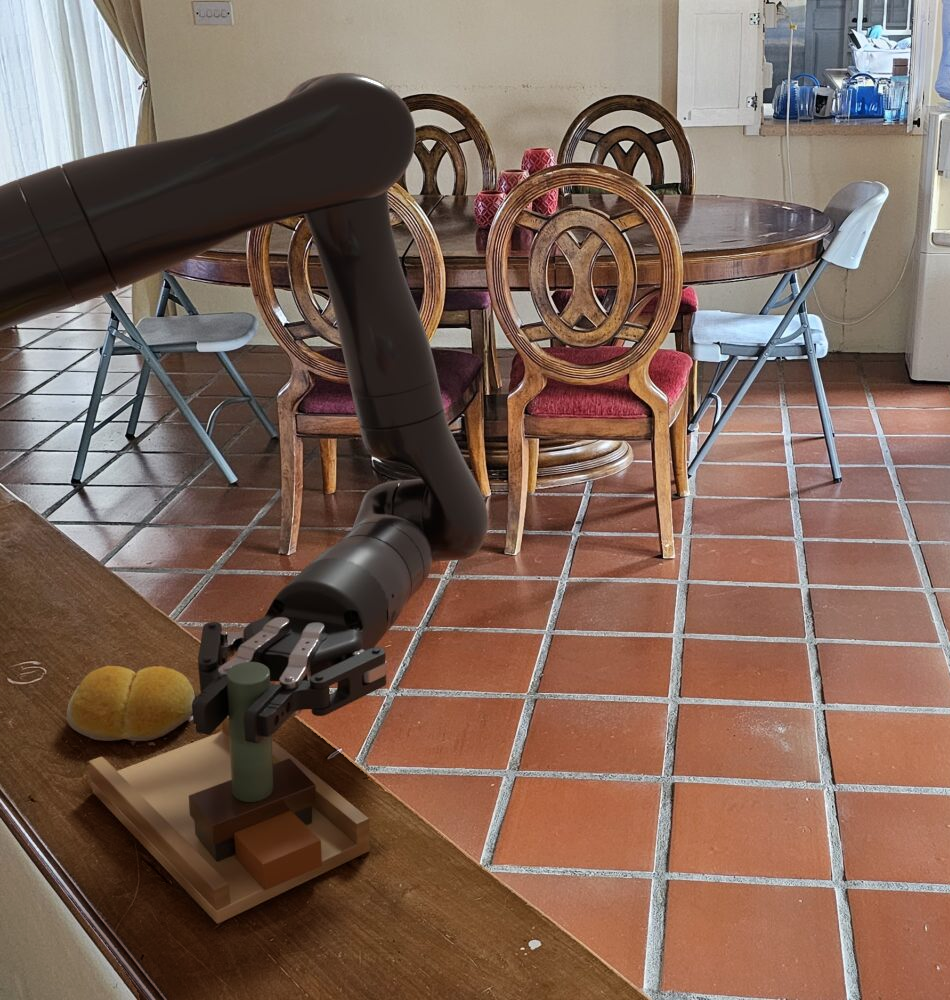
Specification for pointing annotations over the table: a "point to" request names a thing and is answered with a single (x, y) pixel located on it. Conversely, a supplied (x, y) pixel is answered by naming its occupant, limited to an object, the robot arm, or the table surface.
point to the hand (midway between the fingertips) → (226, 725)
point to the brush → (248, 775)
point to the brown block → (278, 849)
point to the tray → (171, 830)
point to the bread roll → (130, 703)
